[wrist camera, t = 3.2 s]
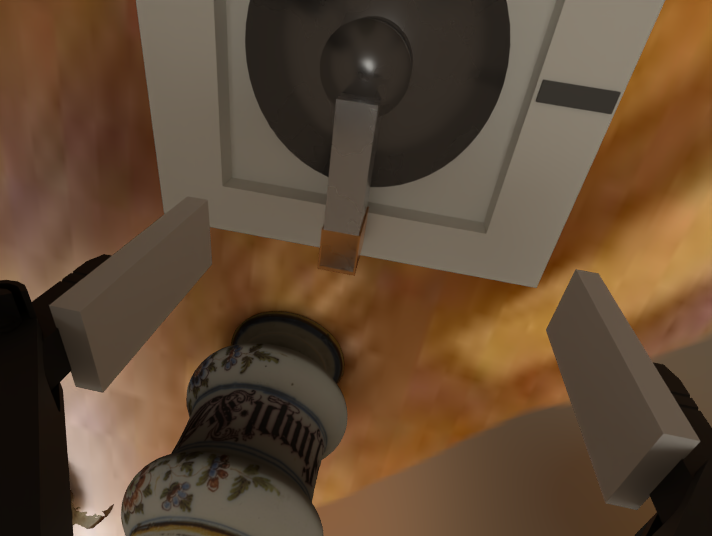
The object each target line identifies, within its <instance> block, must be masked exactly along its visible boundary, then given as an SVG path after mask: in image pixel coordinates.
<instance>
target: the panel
mask: <svg viewBox="0 0 712 536" xmlns="http://www.w3.org/2000/svg"><path fill="white" fill-rule="evenodd" d="M506 1H507V6H508V13H509V20H510V53H509V62H508V68H507V72H506V77H505V81H504V85H503V88H502V90H501V93H500V96H499V99H498V101H497V104H496V106H495V108H494V110H493V112H492V113H491V115H490V117H489V119H488V121H487V122H486V124H485V125H484V127H483V128H482V130H481V131H480V133H479V134H478V135H477V137H476V138H475V139H474V140H473V141H472V143H471V144H470V145H469V146H468V147H467V148H466V149H465V150H464V151H463V152H462V153H461V154H460V155H459V156H457V157H456V158H455V159H454V160H452V161H451V162H450V163H448V164H447V165H446V166H444V167H443V168H441V169H439V170H438V171H436V172H434V173H432V174H430V175H428V176H426V177H423V178H421V179H419V180H416V181H413V182H409V183H406V184H402V185H397V186H389V187H370V192H369V199H368V205H367V207H369V210H368V216H367V223H366V229H365V235H364V242H363V246H362V250H361V253H360V255H363V256H368V257H374V258H379V259H385V260H390V261H395V262H401V263H406V264H411V265H417V266H422V267H427V268H433V269H438V270H443V271H449V272H454V273H460V274H465V275H470V276H476V277H481V278H486V279H492V280H497V281H502V282H508V283H513V284H519V285H524V286H529V287H535V288H537V285H538V283H539V281H540V279H541V276H542V274H543V272H544V270H545V267H546V265H547V263H548V261H549V259H550V256H551V254H552V252H553V250H554V247H555V245H556V243H557V241H558V238H559V236H560V234H561V232H562V229H563V227H564V225H565V223H566V221H567V218H568V216H569V214H570V212H571V209H572V207H573V205H574V203H575V200H576V198H577V196H578V194H579V191H580V189H581V187H582V185H583V183H584V180H585V178H586V176H587V174H588V171H589V169H590V167H591V165H592V162H593V160H594V158H595V156H596V153H597V151H598V149H599V147H600V145H601V142H602V140H603V138H604V136H605V133H606V131H607V129H608V127H609V124H610V122H611V120H612V118H613V115H614V113H615V111H616V109H617V107H618V104H619V102H620V100H621V98H622V95H623V93H624V91H625V89H626V86H627V84H628V82H629V80H630V77H631V75H632V73H633V71H634V69H635V66H636V64H637V62H638V60H639V57H640V55H641V53H642V51H643V48H644V46H645V44H646V42H647V39H648V37H649V35H650V33H651V31H652V28H653V26H654V24H655V22H656V19H657V17H658V15H659V13H660V10H661V8H662V6H663V4H664V1H665V0H506ZM249 2H250V0H136V5H137V13H138V20H139V28H140V35H141V43H142V50H143V58H144V66H145V73H146V81H147V88H148V96H149V103H150V111H151V118H152V126H153V134H154V141H155V149H156V156H157V164H158V171H159V179H160V187H161V194H162V202H163V209H164V214H166V213H167V212H168V211H169V210H171V209H172V208H173V207H175V206H176V205H177V204H178V203H180V202H181V201H182V200H183V199H185V198H186V197H187V196H189V197H195V198H200V199H205V200H208V208H209V224H210V227H213V228H218V229H224V230H229V231H234V232H240V233H245V234H251V235H256V236H261V237H267V238H272V239H277V240H283V241H288V242H293V243H299V244H304V245H309V246H315V247H320V240H321V229H322V227H323V225H324V219H325V209H326V199H327V188H328V178H329V177H327V176H325V175H323V174H321V173H319V172H317V171H315V170H314V169H312V168H311V167H309V166H308V165H306V164H305V163H303V162H302V161H301V160H300V159H298V158H297V157H296V156H295V155H294V154H293V153H292V152H290V151H289V150H288V148H287V147H286V146H285V145H284V144H283V143H282V142H281V141H280V140H279V138H278V137H277V136H276V134H275V133H274V131H273V130H272V129H271V127H270V126H269V124H268V122H267V121H266V119H265V117H264V115H263V113H262V112H261V109H260V107H259V105H258V102H257V100H256V98H255V95H254V92H253V88H252V85H251V82H250V78H249V73H248V67H247V62H246V49H245V31H246V19H247V13H248V6H249Z"/></svg>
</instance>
